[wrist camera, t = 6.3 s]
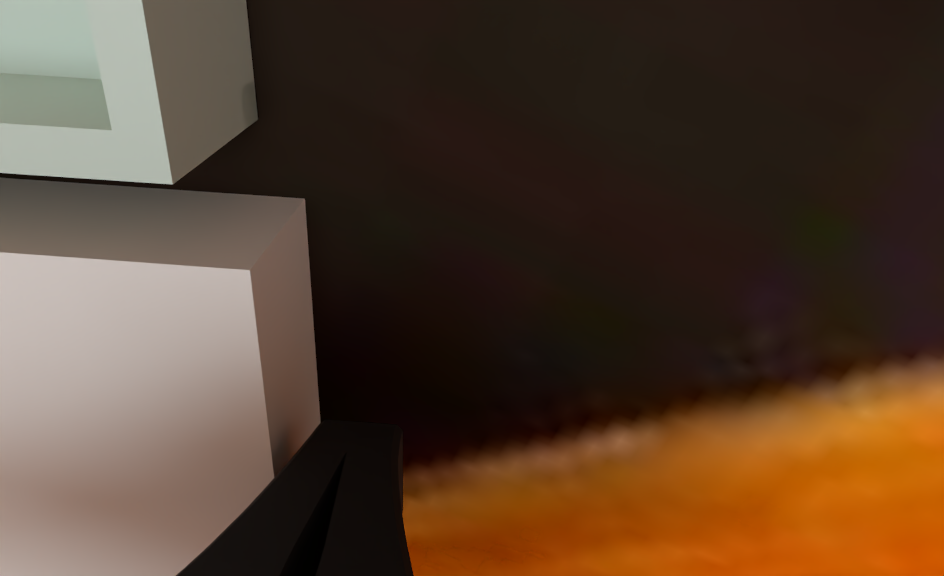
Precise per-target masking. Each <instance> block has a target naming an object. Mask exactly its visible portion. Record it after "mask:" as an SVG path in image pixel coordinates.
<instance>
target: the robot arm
mask: <svg viewBox="0 0 944 576" xmlns="http://www.w3.org/2000/svg"><path fill="white" fill-rule="evenodd" d="M402 511H403V430H402V429H401V428H400V427H399V426H398V425H395V424H382V423H368V422H355V421H342V420H328V419H325V420H324V421H323V422H321V423H320V424H319V425H318V426H317V427H316V429H315V430H314V431H313V433H312V434H311V435H310V436H309V438H308V439H307V440H306V441H305V442H304V444H303V445H302V446H301V447H300V449H299V450H298V451H297V452H296V453H295V455H294V456H293V457H292V458H291V459H290V460H289V462H288V463H287V464H286V465H285V466H284V467H283V469H282V470H281V471H280V472H279V473H278V474H277V475H276V477H275V478H274V479H273V480H272V481H271V482H270V483H269V484H268V485H267V486H266V487H265V489H264V490H263V491H262V492H261V493H260V494H259V495H258V496H257V497H256V498H255V499H254V501H253V502H252V503H251V504H250V505H249V506H248V507H247V508H246V509H245V510H244V511H243V512H242V513H241V514H240V515H239V516H238V517H237V518H236V519H235V520H234V521H233V522H232V523H231V524H230V525H229V526H228V527H227V528H226V529H225V530H224V531H223V532H222V533H221V534H220V535H219V536H218V537H217V538H216V539H215V540H214V541H213V542H212V543H211V544H210V545H209V546H208V547H207V548H206V549H205V550H204V551H202V552H201V553H200V554H199V555H198V556H197V557H196V558H195V559H194V560H193V561H192V562H190V563H189V564H188V565H187V566H186V567H185V568H184V569H183V570H182V571H180V572H179V573H178V574H177V575H176V576H414V575H413V571H412V567H411V562H410V557H409V552H408V547H407V542H406V536H405V531H404V524H403V517H402Z"/></svg>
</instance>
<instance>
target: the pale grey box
mask: <svg viewBox="0 0 944 576" xmlns="http://www.w3.org/2000/svg"><path fill="white" fill-rule="evenodd" d="M320 423H321V422H320V408H319V394H318V380H317V365H316V351H315V337H314V323H313V308H312V294H311V280H310V266H309V251H308V237H307V223H306V209H305V199H303V198H288V197H274V196H259V195H244V194H230V193H215V192H201V191H186V190H172V189H157V188H143V187H128V186H114V185H99V184H85V183H70V182H56V181H41V180H26V179H12V178H0V576H176V575H177V574H178V573H179V572H180V571H182V570H183V569H184V568H185V567H186V566H187V565H188V564H189V563H190V562H192V561H193V560H194V559H195V558H196V557H197V556H198V555H199V554H200V553H201V552H202V551H204V550H205V549H206V548H207V547H208V546H209V545H210V544H211V543H212V542H213V541H214V540H215V539H216V538H217V537H218V536H219V535H220V534H221V533H222V532H223V531H224V530H225V529H226V528H227V527H228V526H229V525H230V524H231V523H232V522H233V521H234V520H235V519H236V518H237V517H238V516H239V515H240V514H241V513H242V512H243V511H244V510H245V509H246V508H247V507H248V506H249V505H250V504H251V503H252V502H253V501H254V499H255V498H256V497H257V496H258V495H259V494H260V493H261V492H262V491H263V490H264V489H265V487H266V486H267V485H268V484H269V483H270V482H271V481H272V480H273V479H274V478H275V477H276V475H277V474H278V473H279V472H280V471H281V470H282V469H283V467H284V466H285V465H286V464H287V463H288V462H289V460H290V459H291V458H292V457H293V456H294V455H295V453H296V452H297V451H298V450H299V449H300V447H301V446H302V445H303V444H304V442H305V441H306V440H307V439H308V438H309V436H310V435H311V434H312V433H313V431H314V430H315V429H316V427H317V426H318V425H319V424H320Z"/></svg>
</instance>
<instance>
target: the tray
mask: <svg viewBox="0 0 944 576" xmlns="http://www.w3.org/2000/svg"><path fill="white" fill-rule="evenodd" d="M257 120H258V114H257V104H256V94H255V84H254V74H253V64H252V54H251V44H250V35H249V25H248V15H247V5H246V0H0V173H11V174H25V175H40V176H55V177H70V178H85V179H100V180H114V181H129V182H144V183H159V184H174V183H175V182H177V181H178V180H179V179H181V178H182V177H183V176H185V175H186V174H187V173H188V172H190V171H191V170H192V169H194V168H195V167H196V166H198V165H199V164H200V163H202V162H203V161H204V160H205V159H207V158H208V157H209V156H211V155H212V154H213V153H215V152H216V151H217V150H219V149H220V148H221V147H222V146H224V145H225V144H226V143H228V142H229V141H230V140H232V139H233V138H234V137H236V136H237V135H238V134H239V133H241V132H242V131H243V130H245V129H246V128H247V127H249V126H250V125H251V124H253V123H254V122H255V121H257Z"/></svg>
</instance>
